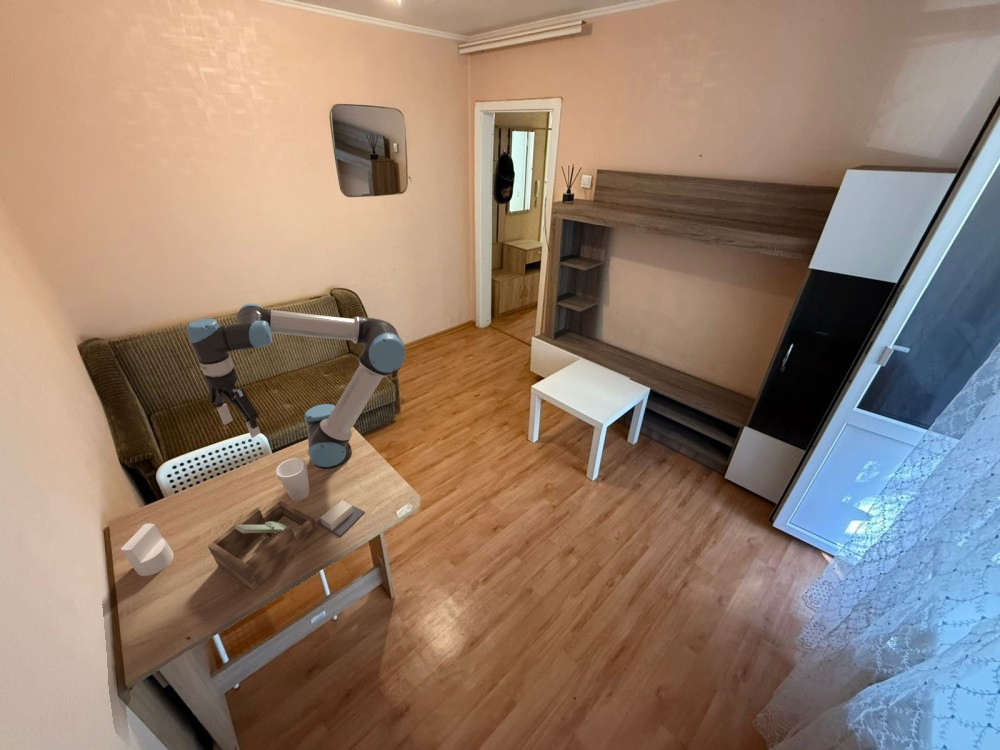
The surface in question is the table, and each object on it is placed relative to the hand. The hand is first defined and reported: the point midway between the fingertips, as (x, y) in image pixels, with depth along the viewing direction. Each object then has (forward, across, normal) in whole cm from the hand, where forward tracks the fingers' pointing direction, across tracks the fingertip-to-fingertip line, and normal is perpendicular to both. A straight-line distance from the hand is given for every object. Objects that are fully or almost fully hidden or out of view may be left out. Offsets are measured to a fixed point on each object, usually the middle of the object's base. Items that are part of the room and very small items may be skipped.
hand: (241, 428), depth 130 cm
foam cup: (+31, +9, +6) cm, 33 cm away
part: (+30, +30, +4) cm, 42 cm away
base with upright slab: (+31, -7, -33) cm, 46 cm away
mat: (+31, +30, +5) cm, 43 cm away
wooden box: (+31, +19, -14) cm, 39 cm away
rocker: (+23, +19, -13) cm, 33 cm away
